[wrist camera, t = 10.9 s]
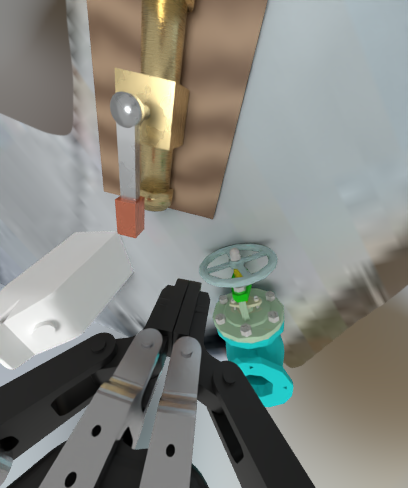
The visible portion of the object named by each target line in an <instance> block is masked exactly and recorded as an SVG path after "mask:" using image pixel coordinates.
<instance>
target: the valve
mask: <svg viewBox="0 0 408 488" xmlns="http://www.w3.org/2000/svg"><path fill="white" fill-rule="evenodd" d="M239 250H252V251H258V252H259V253H256V254H253V255H250V256H246V257H243V258H242V256H240V253H239ZM223 254H227V255H228V256H229V258H230V259H229V262H228V263H224V264H221V265H218V266H214V267H211V268H208V269H207V266H208V264H209V263H210V262H212V261H213V260H214V259H215V258H217V257H218V256H221V255H223ZM266 255H267V257H268V259H269V261H268V264H267V265H266V266H265V267H264V268H262V269H261V270H260V271H258V272H256V273H253V274H250V273H249V271H248V269H246V268H245V266H244V263H245V262H248V261H250V260H254V259H257V258H260V257H263V256H266ZM277 260H278V259H277V256H276V254H275V253H274V252H273V251H272V250H271V249H270V248H268V247H266V246H262V245H257V244H235V245H232V246H228V247H225V248H221V249H219V250H217V251H215V252H214V253H212V254H210V255H209V256H207V257H206V258H205V259H204V261H203V262H202V264H201V265H200V267H199V273H200V276H201V277H202V278H203V279H204V280H205V281H206V282H207V283H208V284H211V285H214V286H218V287H231V289H232V292H231V293H229V294H226V295H221V296H220V297H219V302H218V303H216V306H215V310H214V313H213V321H214V324H215V326H216V328H217V330H218V334H219V336H220V337H222V338H223V339H224V340H225V341H226V350H227V358H228V361H231V362H234V363H235V364H237V365H238V366H239V367H240V369H241V370H242V372H243V373H244V375H245V376H246V378H247V379H248V381H249V383H250V384H251V386H252V387H253V389H254V391H255V392H256V394H257V395H258V397H259V399H260V400H261V402H262V403H263V405H264V407H272V406H276V405H280V404H284V403H285V402H286V401H287V400H288V399H289V398H290V397H291V396H292V392H293V382H292V380H291V378H290V377H289V375H288V374H287V372H286V371H285V370H284V368H283V359H284V344H283V341H282V338H281V335H280V334H281V333H282V332H283V329H284V306H283V305H282V304H281V303H280V302H279V300H278V299H277V298H276V297H275V294H274V292H271V291H268V292H267V291H264V290H261V289H258V288H251V287H252V285H251V284H253V283H255V282H257V281H260V280H262V279H265V278H266V277H267V276H268V275H269V274H270V273H271V272H272V271H273V270H274V269H275V268H276V264H277ZM228 267H231V268H232V269H234V273H233V276H232V278H231V279H221V278H217V277H214V276H211V275H209V273H212V272H215V271H219V270H222V269H225V268H228Z"/></svg>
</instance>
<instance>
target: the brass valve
mask: <svg viewBox="0 0 408 488" xmlns="http://www.w3.org/2000/svg"><path fill="white" fill-rule="evenodd" d="M194 2H195V0H141V74H140V73H136V72H132V71H128V70H123V69H119V68H115V67H114V70H115V93H117V92H121V91H122V92H127V93H131V94H133V95H135V96H137V97H138V98H139V99H140V101H141V102H142V104H143V107H144V112H145V116H144V120H143V122H142V124H141V125H140V196H142V197H145V202H144V209H145V210H149V211H163V210H165V209H167V207H169V206H171V204H172V197H173V189H172V188H171V187H170V177H171V167H172V157H173V149H174V148H177V147H179V146H182V145H183V139H184V131H185V123H186V115H187V107H188V99H189V91H190V90H188V89H187V88H185V87H183V86H182V85H180V77H181V67H182V57H183V47H184V38H185V28H186V18H187V13H190V12H192V11H193V9H194Z"/></svg>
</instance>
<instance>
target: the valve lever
mask: <svg viewBox="0 0 408 488" xmlns="http://www.w3.org/2000/svg"><path fill="white" fill-rule="evenodd" d="M110 111H111V114H112V117H113V118H114V120H115V121H116V128H117V145H118V162H119V179H120V195H121V196H120V197H118V198H117V199H115V206H116V219H117V232H118V234H120V235H125V236H129V237H133V238H136V237H137V236H138V235H139V234H140V233H141V232H142V231H143V230H144V202H145V197H142V196H140V125H141V124H142V122H143V120H144V116H145V112H144V107H143V104H142V102H141V101H140V99H139V98H138V97H137V96H135V95H133V94H131V93H127V92H122V91H121V92H117V93H115V94H114V95H113V96H112V98H111V101H110Z"/></svg>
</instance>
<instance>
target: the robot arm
mask: <svg viewBox="0 0 408 488" xmlns="http://www.w3.org/2000/svg"><path fill="white" fill-rule="evenodd" d="M200 290H201V283H200V282H195V281H189V280H184V279H179V278H178V279H177V282H176V284H175V286H171V285H168V286H166V287H165V288H164V289H163V290H162V292H161V294H160V296H159V299H158V300H157V302H156V304H155V307H154V309H153V311H152V313H151V315H150V317H149V319H148V322H147V324H146V326H145V328H144V329H143V330H142V331H140V332H139V333H138V334H137V335H135V336H133V337H129V338H122V339H115V338H114V337H113V335H111V334H109V333H99V334H96V335H94V336H92V337H90V338H89V339H87V340H85V341H83V342H81V343H79V344H78V345H76V346H74V347H72V348H70V349H69V350H67V351H65V352H63V353H62V354H59V355H58V356H56V357H54V358H52V359H50V360H49V361H47V362H45V363H43V364H41V365H39V366H38V367H36V368H34V369H32V370H30V371H29V372H27V373H25V374H23V375H21V376H20V377H18V378H16V379H14V380H12V381H10V382H9V383H7V384H5V385H3V386H1V387H0V485H1V484H2V483H3V482H4V480H5V479H6V477H7V475H8V473H9V471H10V469H11V466H12V462H13V460H14V459H16V458H17V457H18V456H20V455H21V454H22V453H24V452H25V451H26V450H28V449H29V448H31V447H32V446H33V445H35V444H36V443H37V442H39V441H40V440H41V439H43V438H44V437H45V436H47V435H48V434H49V433H51V432H52V431H53V430H55V429H56V428H58V427H59V426H60V425H62V424H63V423H64V422H66V421H67V420H68V419H70V418H71V417H72V416H74V415H75V414H76V413H78V412H79V411H81V410H82V409H83V408H85V407H86V406H87V405H88V407H87V409H86V410H85V412H84V414H83V415H82V417H81V419H80V420H79V422H78V423H77V425H76V427H75V429H74V430H73V432H72V434H71V435H70V437H69V438H68V440H67V441H65V442H63V443H61V444H60V445H59V446H57V447H56V448H54V449H53V450H51V451H50V452H49V453H48V454H46V455H45V456H44V457H43V458H42V459H40V460H39V461H38V462H37V463H36V464H34V465H33V466H32V467H31V468H30V469H28V470H27V471H26V472H25V473H23V474H22V475H21V476H20V477H19V478H18V479H16V480H15V481H14V482H13V483H12V484H10V485H9V486H8V487H7V488H209V487H208V485H207V483H206V481H205V479H204V477H203V476H202V474H201V473H200V472H199V471H198V469H197V468H196V467H195V466H194V465H193V464H192V453H193V443H194V431H195V420H196V410H197V400H199V401H200V402H201V403H203V404H204V405H205V406H207V409H208V411H209V414H210V416H211V418H212V420H213V423H214V425H215V427H216V430H217V432H218V434H219V437H220V439H221V441H222V443H223V446H224V448H225V450H226V452H227V455H228V457H229V459H230V461H231V464H232V466H233V468H234V471H235V473H236V475H237V478H238V480H239V482H240V484H241V487H242V488H315V486H314V485H313V483H312V481H311V480H310V478H309V477H308V475H307V473H306V472H305V470H304V469H303V467H302V465H301V464H300V462H299V461H298V459H297V457H296V456H295V454H294V453H293V451H292V450H291V448H290V446H289V445H288V443H287V442H286V440H285V438H284V437H283V435H282V434H281V432H280V430H279V429H278V427H277V426H276V424H275V423H274V421H273V419H272V418H271V416H270V414H269V413H268V411H267V410H266V408H265V407H264V405H263V403H262V402H261V400H260V399H259V397H258V395H257V394H256V392H255V391H254V389H253V387H252V386H251V384H250V383H249V381H248V379H247V378H246V376H245V375H244V373H243V372H242V370H241V369H240V367H239V366H238V365H237V364H235V363H234V362H231V361H222V362H220V361H219V360H217V359H216V358H214V357H212V356H211V355H210V354H209V353H208V352H207V351H206V349H205V347H204V342H203V340H204V333H205V327H206V321H207V316H208V310H209V304H210V298H209V295H208V293H206V292H201V291H200ZM167 356H168V357H170V362H169V366H168V371H167V375H166V380H165V385H164V389H163V393H162V396H161V398H160V401H159V405H158V409H157V413H156V417H155V422H154V426H153V430H152V435H151V439H150V444H149V448H148V449H139V450H134V449H135V446H136V444H137V441H138V438H139V436H140V433H141V430H142V427H143V423H144V418H145V415H146V412H147V409H148V407H149V404H150V402H151V399H152V396H153V394H154V391H155V389H156V386H157V383H158V381H159V378H160V376H161V373H162V370H163V366H164V363H165V360H166V357H167Z"/></svg>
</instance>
